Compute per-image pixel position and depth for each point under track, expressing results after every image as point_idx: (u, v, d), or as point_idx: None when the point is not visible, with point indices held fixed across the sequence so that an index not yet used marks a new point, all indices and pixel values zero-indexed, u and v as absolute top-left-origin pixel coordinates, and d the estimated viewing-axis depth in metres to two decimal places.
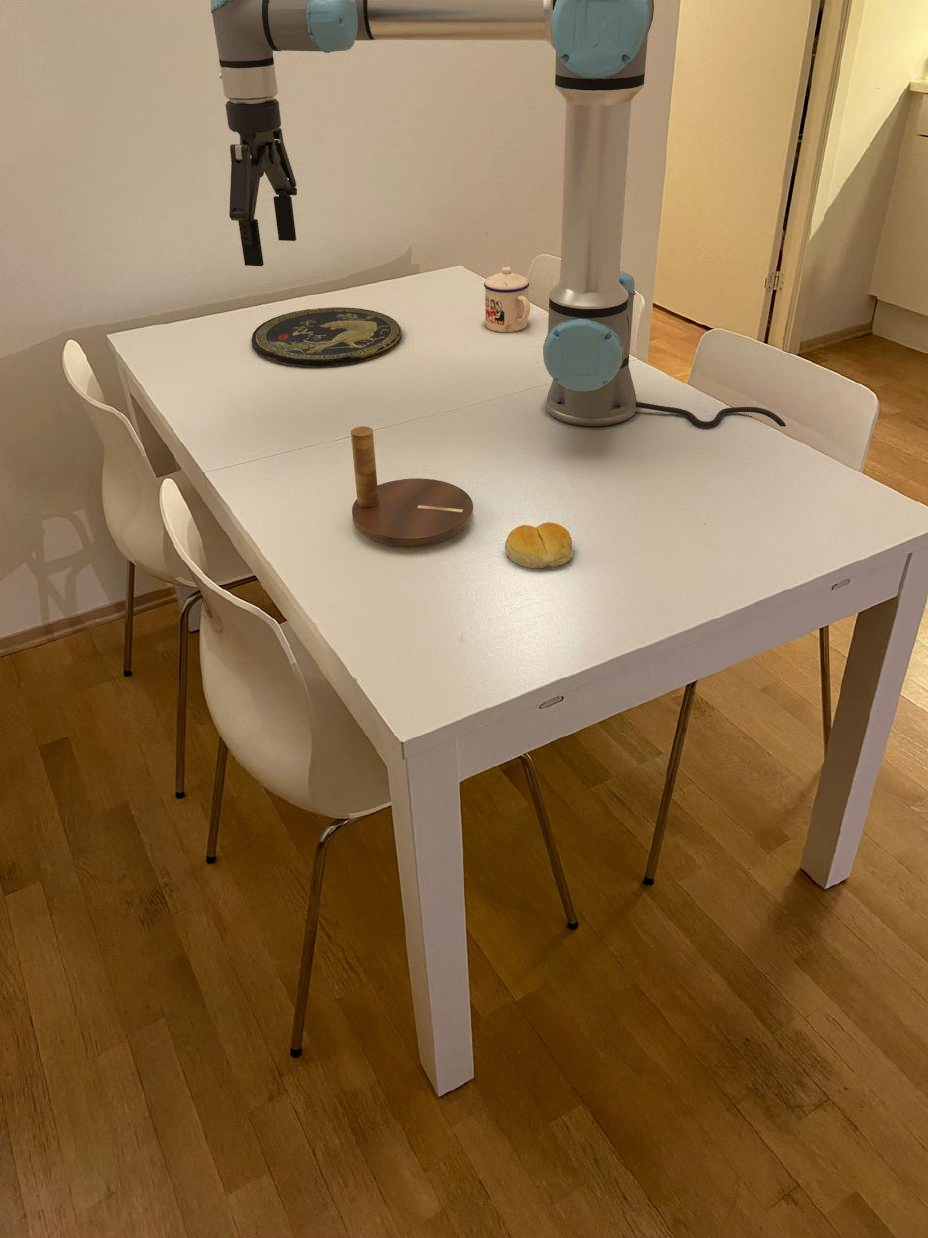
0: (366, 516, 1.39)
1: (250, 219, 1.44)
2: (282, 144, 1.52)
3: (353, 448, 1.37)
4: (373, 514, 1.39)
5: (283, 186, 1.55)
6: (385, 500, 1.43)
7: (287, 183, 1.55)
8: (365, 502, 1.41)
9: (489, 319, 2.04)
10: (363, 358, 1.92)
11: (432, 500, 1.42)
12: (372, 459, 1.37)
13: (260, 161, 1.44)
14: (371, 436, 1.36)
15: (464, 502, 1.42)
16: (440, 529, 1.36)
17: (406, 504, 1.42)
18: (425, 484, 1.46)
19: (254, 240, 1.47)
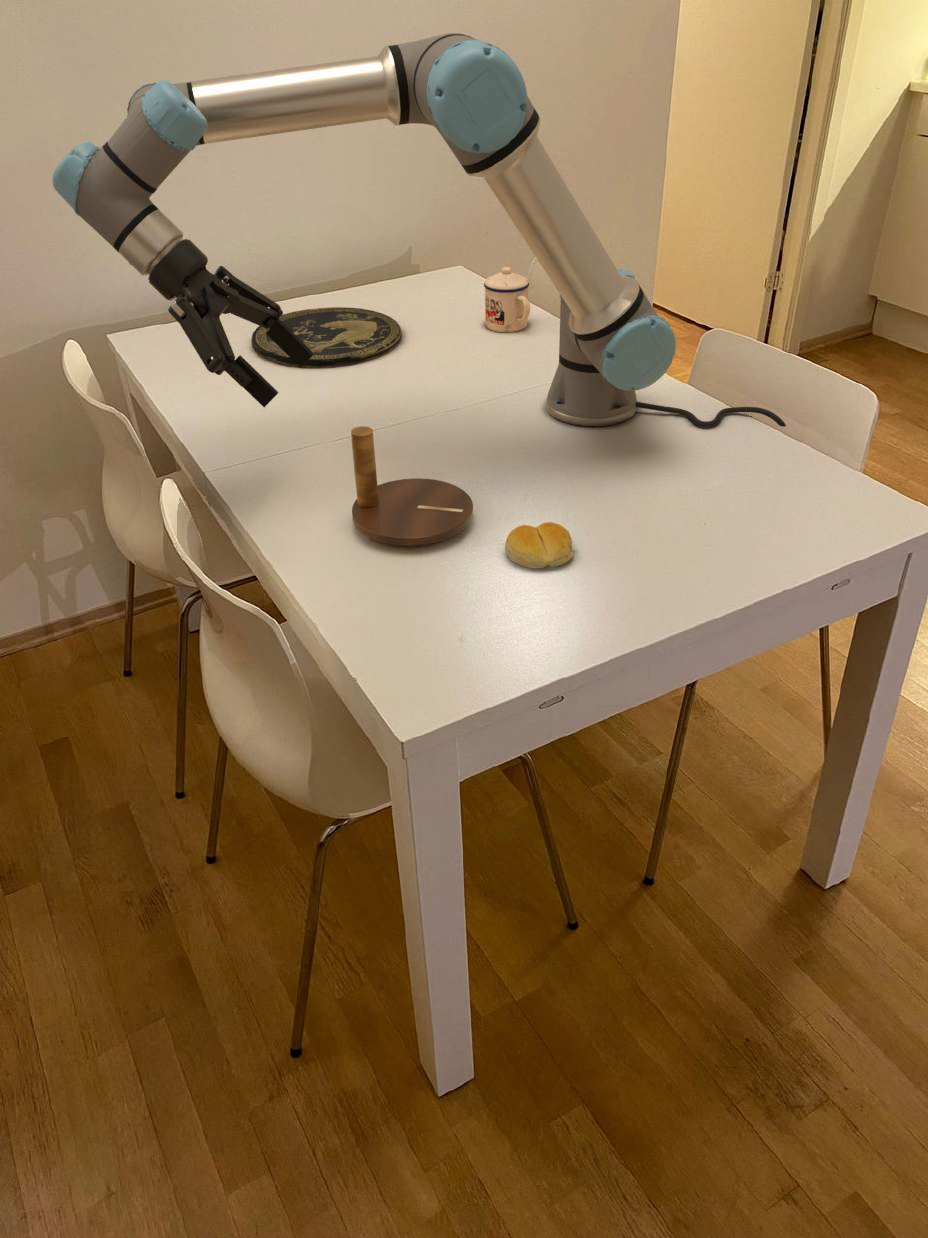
0: (366, 516, 1.39)
1: (230, 359, 1.25)
2: (234, 278, 1.34)
3: (353, 448, 1.37)
4: (373, 514, 1.39)
5: (263, 314, 1.36)
6: (385, 500, 1.43)
7: (265, 309, 1.36)
8: (365, 502, 1.41)
9: (489, 319, 2.04)
10: (363, 358, 1.92)
11: (432, 500, 1.42)
12: (372, 459, 1.37)
13: (208, 302, 1.27)
14: (371, 436, 1.36)
15: (464, 502, 1.42)
16: (440, 529, 1.36)
17: (406, 504, 1.42)
18: (425, 484, 1.46)
19: (251, 376, 1.27)
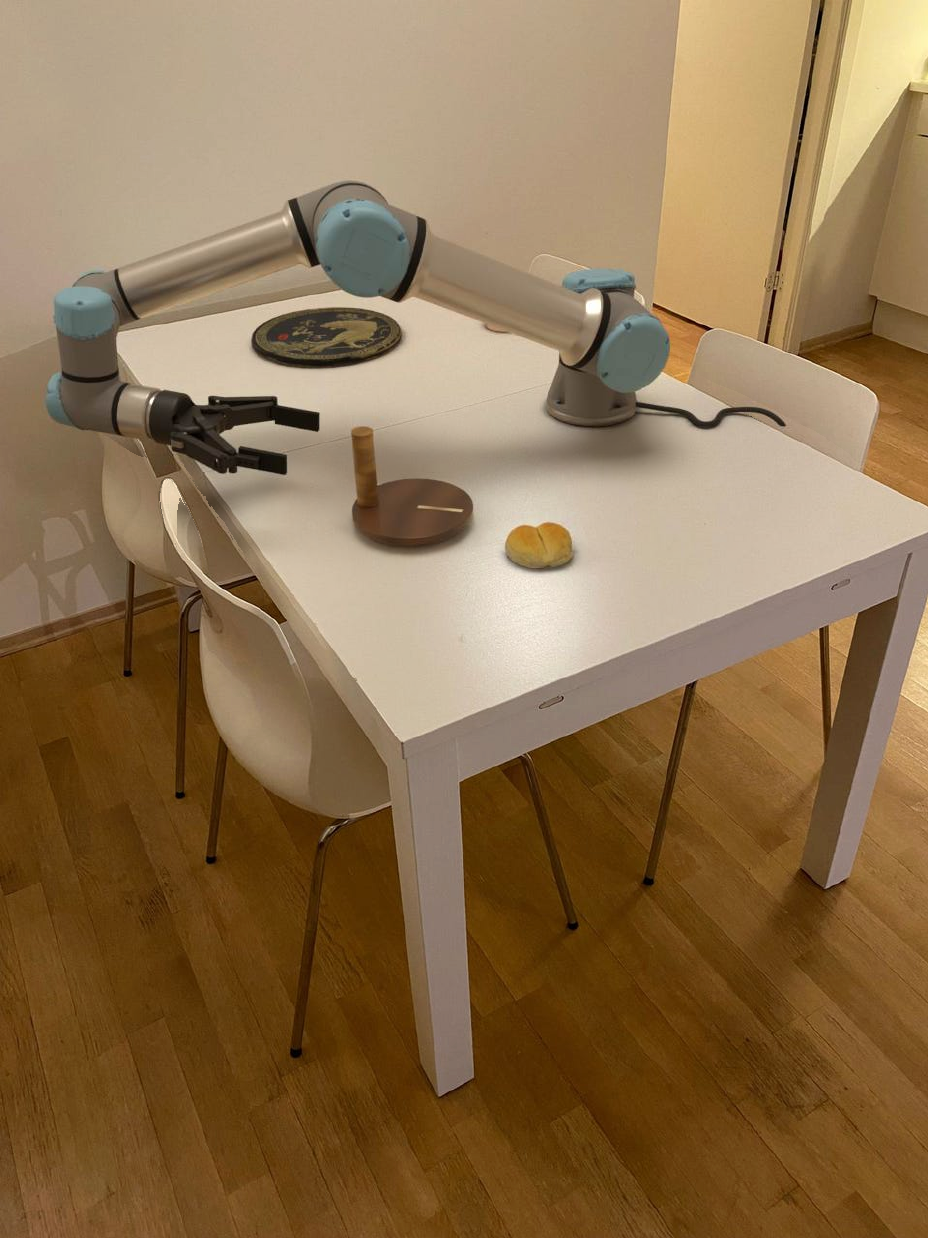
0: (366, 516, 1.39)
1: (232, 453, 1.33)
2: (224, 398, 1.45)
3: (353, 448, 1.37)
4: (373, 514, 1.39)
5: (262, 409, 1.44)
6: (385, 500, 1.43)
7: (261, 404, 1.44)
8: (365, 502, 1.41)
9: None
10: (363, 358, 1.92)
11: (432, 500, 1.42)
12: (372, 459, 1.37)
13: (200, 425, 1.37)
14: (371, 436, 1.36)
15: (464, 502, 1.42)
16: (440, 529, 1.36)
17: (406, 504, 1.42)
18: (425, 484, 1.46)
19: (258, 456, 1.33)
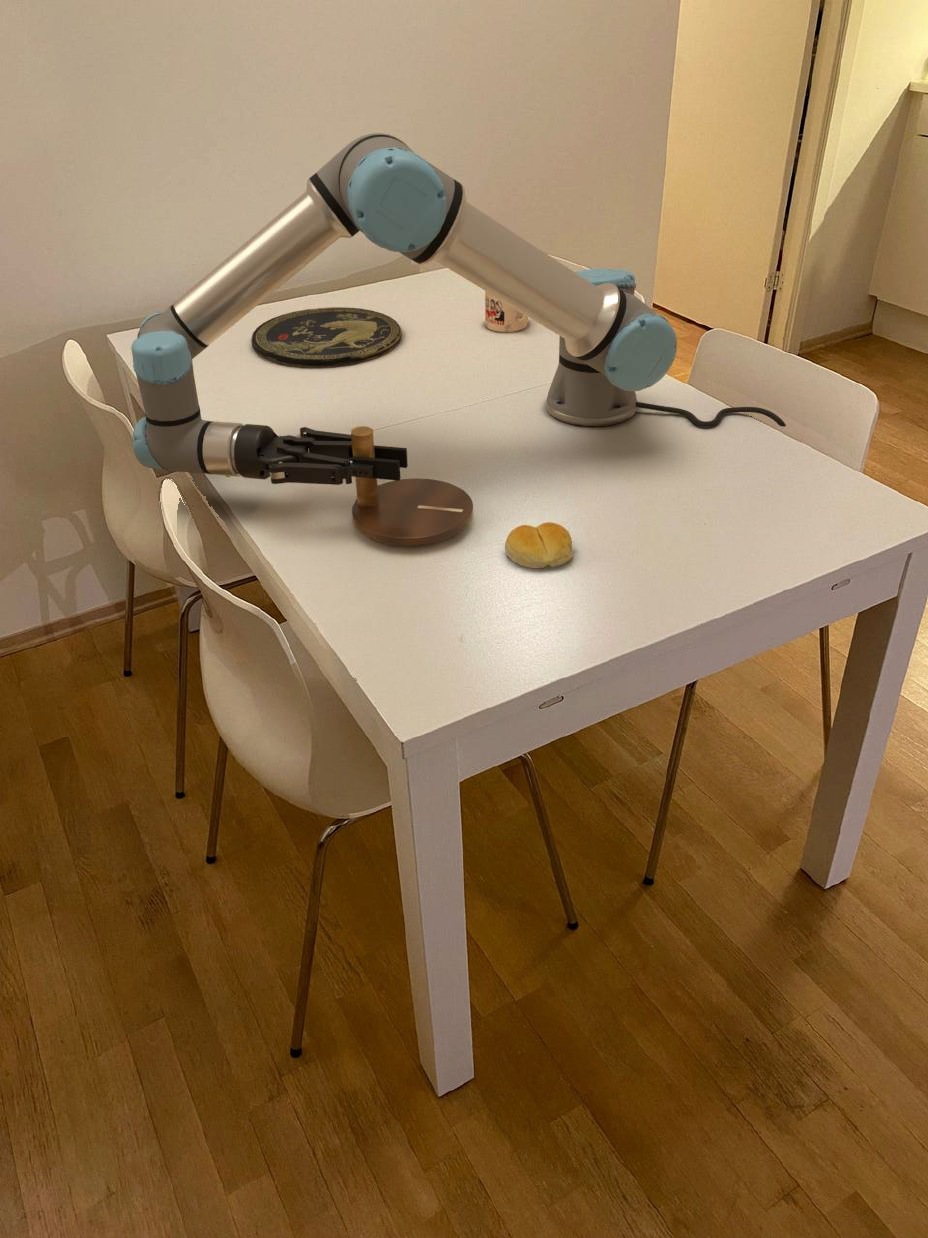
0: (366, 516, 1.39)
1: (348, 463, 1.36)
2: (312, 431, 1.44)
3: (353, 448, 1.37)
4: (373, 514, 1.39)
5: (344, 448, 1.40)
6: (385, 500, 1.43)
7: (345, 443, 1.40)
8: (365, 502, 1.41)
9: (489, 319, 2.04)
10: (363, 358, 1.92)
11: (432, 500, 1.42)
12: None
13: (292, 452, 1.38)
14: (371, 436, 1.36)
15: (464, 502, 1.42)
16: (440, 529, 1.36)
17: (406, 504, 1.42)
18: (425, 484, 1.46)
19: (371, 464, 1.36)
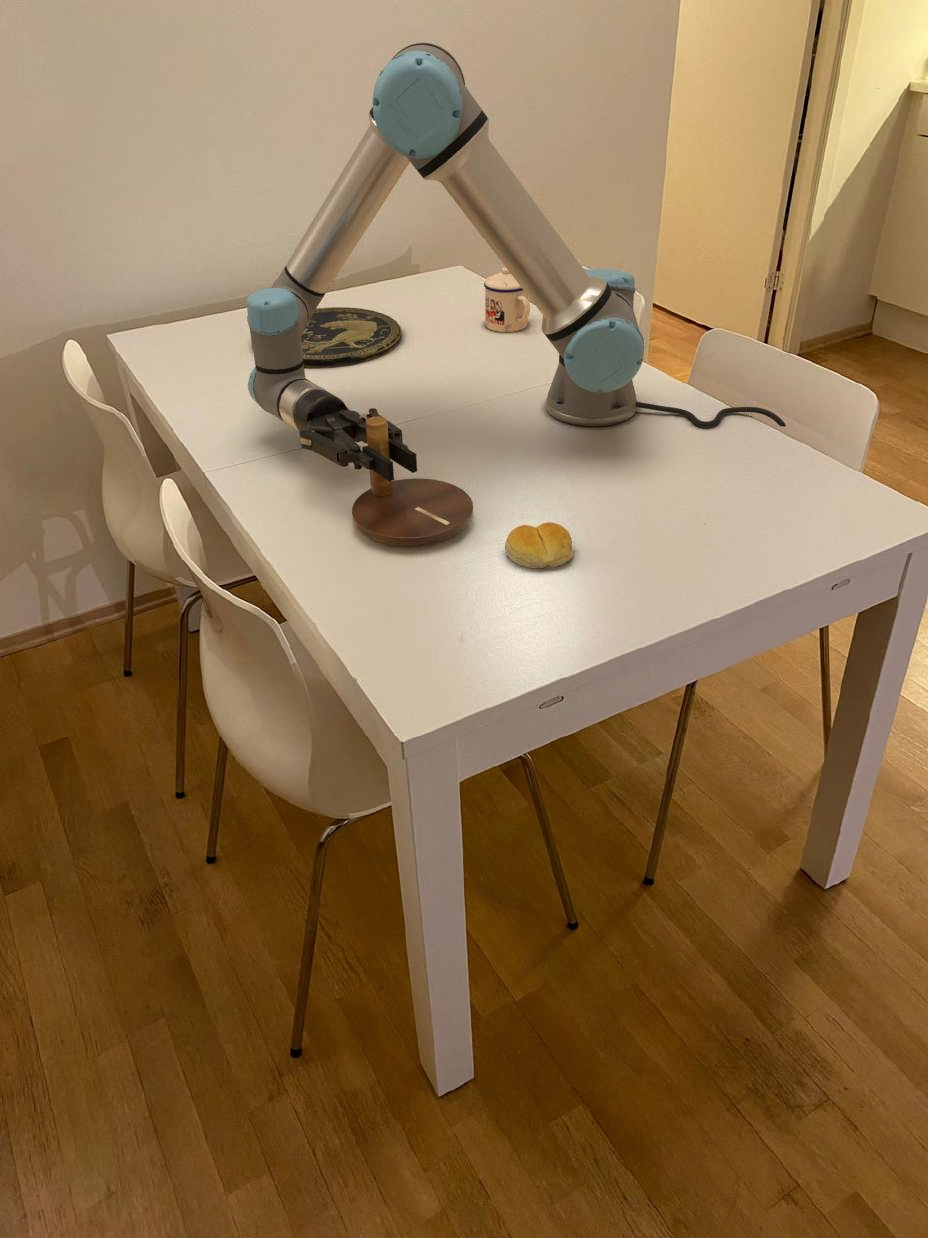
0: (365, 503, 1.42)
1: (356, 450, 1.40)
2: (374, 414, 1.49)
3: None
4: (372, 503, 1.42)
5: None
6: (398, 493, 1.44)
7: None
8: (374, 490, 1.43)
9: (489, 319, 2.04)
10: (363, 358, 1.92)
11: (435, 506, 1.41)
12: (381, 450, 1.40)
13: (330, 425, 1.45)
14: (381, 428, 1.38)
15: (459, 517, 1.38)
16: (410, 534, 1.35)
17: (410, 503, 1.42)
18: (446, 490, 1.45)
19: (373, 457, 1.38)
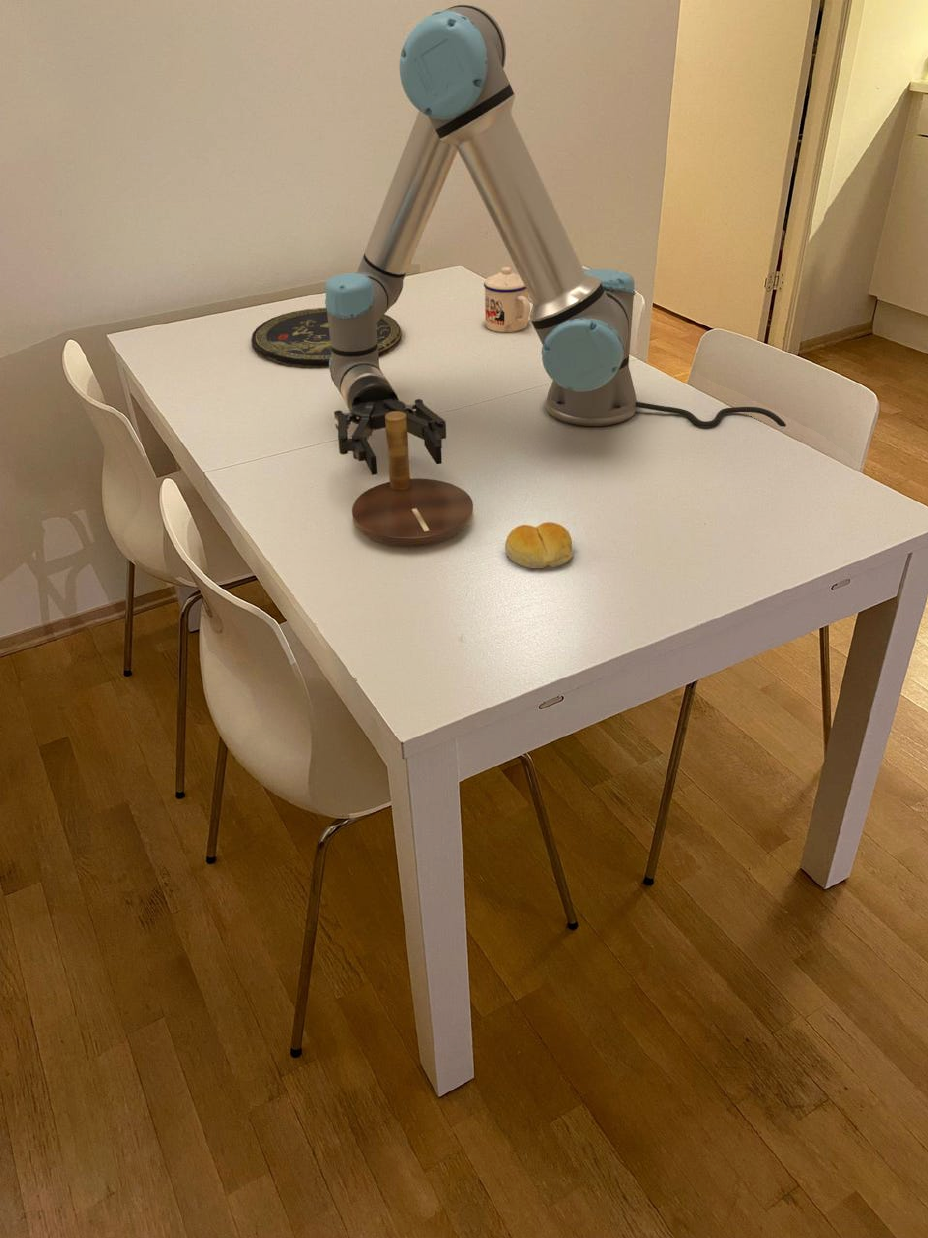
0: (376, 493, 1.44)
1: (353, 439, 1.42)
2: (420, 405, 1.51)
3: None
4: (381, 495, 1.44)
5: (419, 426, 1.46)
6: (411, 491, 1.45)
7: (423, 421, 1.46)
8: (390, 483, 1.45)
9: (489, 319, 2.04)
10: None
11: (432, 511, 1.40)
12: (396, 445, 1.41)
13: None
14: (395, 423, 1.39)
15: (443, 527, 1.36)
16: (385, 531, 1.36)
17: (413, 503, 1.42)
18: (456, 499, 1.42)
19: (365, 449, 1.40)
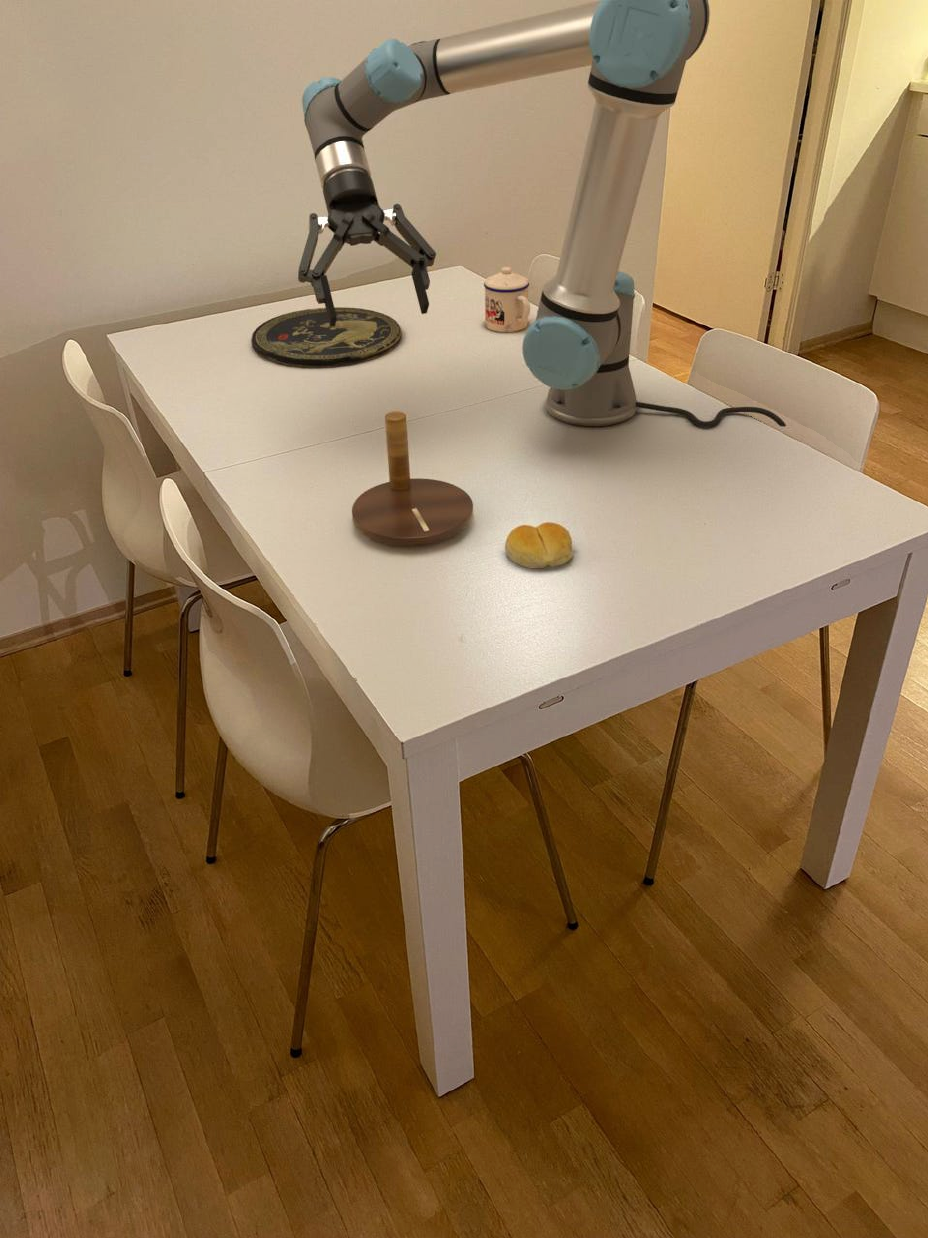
0: (376, 493, 1.44)
1: (313, 275, 1.43)
2: (401, 217, 1.47)
3: None
4: (381, 495, 1.44)
5: (407, 256, 1.46)
6: (411, 491, 1.45)
7: (411, 251, 1.46)
8: (390, 483, 1.45)
9: (489, 319, 2.04)
10: (363, 358, 1.92)
11: (432, 511, 1.40)
12: (396, 445, 1.41)
13: (338, 226, 1.44)
14: (395, 423, 1.39)
15: (443, 527, 1.36)
16: (385, 531, 1.36)
17: (413, 503, 1.42)
18: (456, 499, 1.42)
19: (325, 295, 1.43)
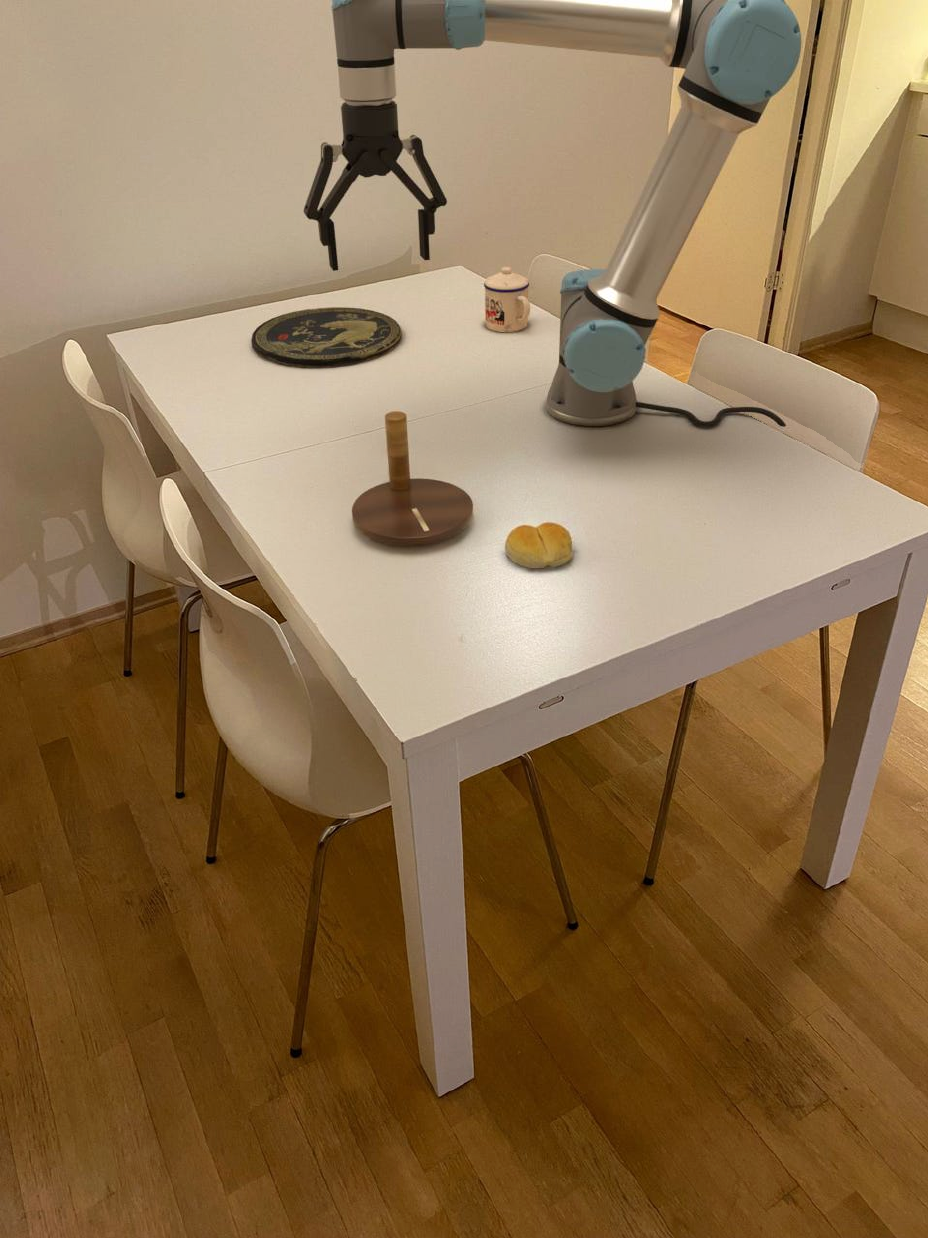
0: (376, 493, 1.44)
1: (320, 220, 1.40)
2: (420, 156, 1.39)
3: None
4: (381, 495, 1.44)
5: (418, 200, 1.43)
6: (411, 491, 1.45)
7: (423, 198, 1.42)
8: (390, 483, 1.45)
9: (489, 319, 2.04)
10: (363, 358, 1.92)
11: (432, 511, 1.40)
12: (396, 445, 1.41)
13: (353, 166, 1.37)
14: (395, 423, 1.39)
15: (443, 527, 1.36)
16: (385, 531, 1.36)
17: (413, 503, 1.42)
18: (456, 499, 1.42)
19: (330, 242, 1.42)
